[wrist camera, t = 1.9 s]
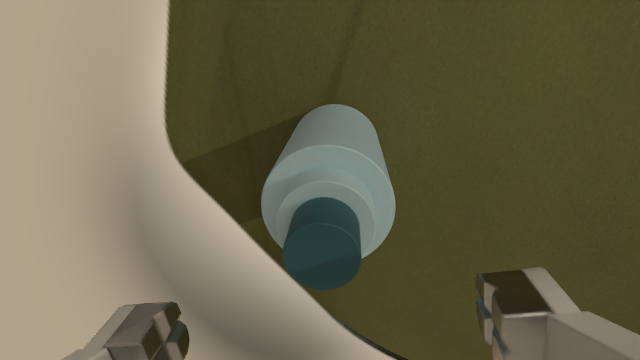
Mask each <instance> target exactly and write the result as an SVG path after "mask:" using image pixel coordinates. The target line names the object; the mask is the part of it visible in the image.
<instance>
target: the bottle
mask: <svg viewBox="0 0 640 360" xmlns="http://www.w3.org/2000/svg"><path fill="white" fill-rule="evenodd" d="M261 210H262V215H263V219H264V222H265V225H266V227H267V229H268V231H269V233H270V234H271V236H272V237H273V239H274V240H275V241H276V242H277V243H278V245H279V246H281V247H282V248H283V250H282V258H283V263H284V266H285V268H286V270H287V271H288V273H289V274H290V275H291V276H292V278H294V279H295V280H296V281H297V282H299V283H300V284H302V285H304V286H306V287H309V288H312V289H317V290H330V289H335V288H338V287H341V286H343V285H345V284H346V283H348V282H349V281H350V280H351V279H352V278H353V277H354V276H355V275H356V274H357V272H358V270H359V268H360V265H361V259H362V258H363V257H365V256H367V255H369V254H370V253H371V252H373V251H374V250H375V249H376V248H377V247H378V246H379V245H380V244H381V243H382V242H383V241H384V239H385V238H386V236H387V235H388V233H389V231H390V229H391V227H392V224H393V220H394V217H395V197H394V192H393V188H392V185H391V182H390V178H389V175H388V171H387V168H386V164H385V161H384V157H383V154H382V150H381V147H380V143H379V140H378V136H377V133H376V130H375V128H374V126H373V125H372V123H371V122H370V120H369V119H368V118H367V117H366V116H365V115H364V114H362V113H361V112H359V111H358V110H356V109H354V108H352V107H349V106H346V105H341V104H329V105H324V106H320V107H318V108H316V109H314V110H312V111H310V112H309V113H307V114H306V115H305V116H304V117H303V118H302V119H301V120H300V122H299V123H298V125H297V126H296V128H295V130H294V132H293V133H292V135H291V137H290V139H289V141H288V142H287V144H286V146H285V148H284V149H283V151H282V153H281V155H280V156H279V158H278V160H277V162H276V163H275V165H274V167H273V169H272V170H271V172H270V174H269V176H268V177H267V180H266V182H265V184H264V187H263V191H262V197H261Z"/></svg>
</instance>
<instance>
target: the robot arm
mask: <svg viewBox="0 0 640 360" xmlns="http://www.w3.org/2000/svg"><path fill="white" fill-rule="evenodd" d="M476 289H477V291H478V293H479V295H480V298H479V299H478V300H477V302H476V306H477V316H478V321H479V326H480V329H481V332H482V334H483V337H484V339H485V341H486V342H488V343H489V344H490V345H492V357H493V359H494V360H640V335H638V334H636V333H633V332H631V331H629V330H627V329H625V328H623V327H621V326H619V325H616V324H614V323H612V322H610V321H608V320H606V319H604V318H602V317H599V316H597V315H595V314H593V313H591V312H589V311H586V312H581V311H580V310H579V308H578V307H577V306H576V305H575V304H574V303H573V301H572V300H571V299H570V298H569V297H568V296H567V294H566V293H565V292H564V291H563V290H562V289H561V287H560V286H559V285H558V284H557V283H556V282H555V280H554V279H553V278H552V277H551V276H550V275H549V273H548V272H547V271H546V270H545V269H544V268H542V267H534V268H525V269H519V270H513V271H503V272H492V273H482V274H477V276H476ZM180 315H181V312H180V309H179V307H178V305H177V303H174V302H161V303H145V304H134V305H124V306H122V307H119V308H118V310H117V311H116V312H115V313H114V314H113V315H112V316H111V318H110V319H109V320H108V321H107V322H106V323H105V324H104V326H103V327H102V328H101V329H100V330H99V331H98V333H97V334H96V335H95V336H94V337H93V338H92V339H91V341H90V342H89V343H88V344H87V345H86V346H85V347H84V349H82V350H77V351H75V352H73V353H72V354H70V355H68V356H67V357H65V358H64V359H62V360H184V358H185V356H186V354H187V352H188V347H189V333H188V330H187V327H186V325H185V324H183V323H182V322H181V321H179V317H180Z"/></svg>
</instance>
